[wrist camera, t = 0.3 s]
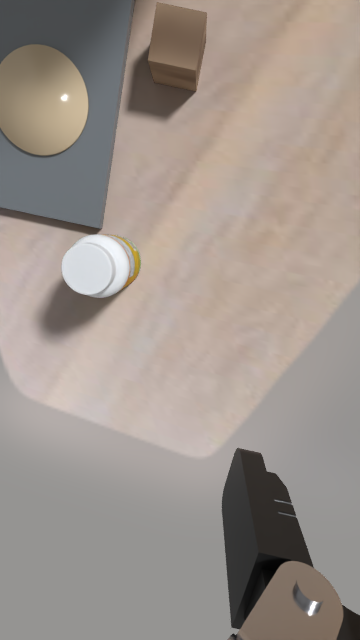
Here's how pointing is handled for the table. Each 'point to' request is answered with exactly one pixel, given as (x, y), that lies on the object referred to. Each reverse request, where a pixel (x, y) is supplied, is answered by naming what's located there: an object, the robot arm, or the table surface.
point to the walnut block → (177, 46)
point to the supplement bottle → (101, 265)
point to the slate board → (60, 104)
